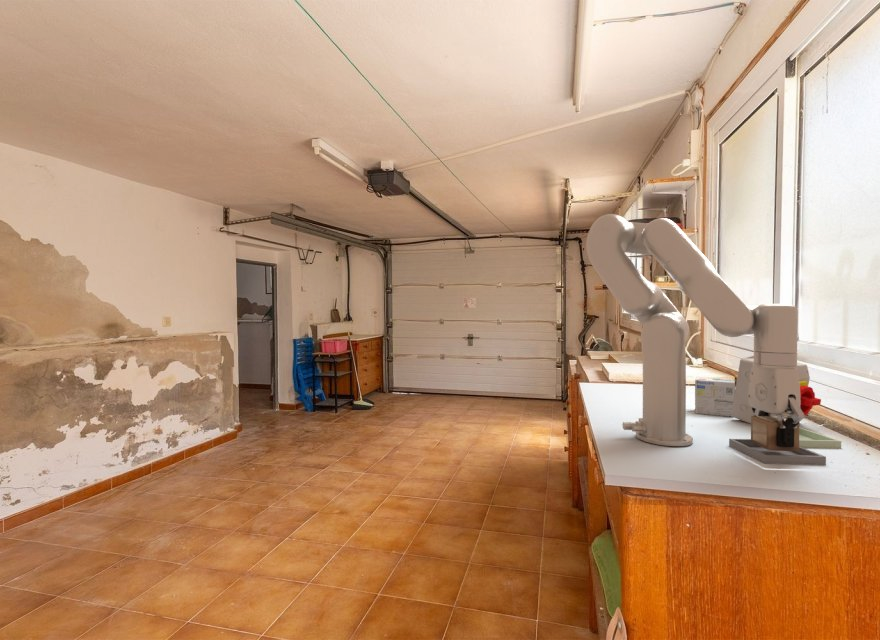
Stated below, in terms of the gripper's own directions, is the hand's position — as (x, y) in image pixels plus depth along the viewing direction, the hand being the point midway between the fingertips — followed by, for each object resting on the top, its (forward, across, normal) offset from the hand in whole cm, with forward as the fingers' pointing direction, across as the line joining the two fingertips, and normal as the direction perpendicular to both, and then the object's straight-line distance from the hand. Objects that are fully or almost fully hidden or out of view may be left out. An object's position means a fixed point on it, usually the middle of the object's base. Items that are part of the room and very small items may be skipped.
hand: (773, 441), depth 94 cm
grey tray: (+3, 0, 0) cm, 3 cm away
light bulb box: (+4, -42, +11) cm, 43 cm away
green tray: (+3, -12, +13) cm, 17 cm away
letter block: (+1, 0, 0) cm, 1 cm away
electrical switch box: (+4, -28, +20) cm, 34 cm away
